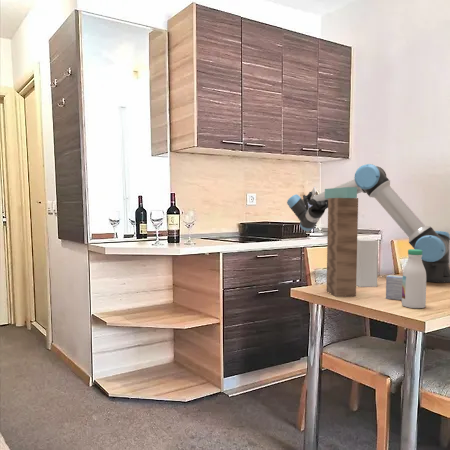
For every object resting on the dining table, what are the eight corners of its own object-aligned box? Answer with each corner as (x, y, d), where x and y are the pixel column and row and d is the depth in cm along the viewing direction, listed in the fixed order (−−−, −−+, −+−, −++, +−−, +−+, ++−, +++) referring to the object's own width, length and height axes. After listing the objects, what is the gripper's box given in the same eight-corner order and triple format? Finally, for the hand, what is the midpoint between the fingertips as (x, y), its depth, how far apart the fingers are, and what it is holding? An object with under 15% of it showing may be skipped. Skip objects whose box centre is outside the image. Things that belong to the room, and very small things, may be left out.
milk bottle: (429, 306, 152) (431, 250, 151) (418, 310, 147) (420, 251, 146) (408, 302, 158) (410, 248, 157) (397, 305, 153) (398, 249, 152)
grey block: (349, 282, 197) (350, 238, 196) (366, 282, 198) (367, 238, 197) (359, 286, 187) (360, 240, 186) (377, 286, 188) (378, 240, 187)
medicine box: (409, 299, 164) (410, 276, 163) (407, 301, 160) (408, 278, 159) (388, 296, 168) (388, 274, 167) (385, 298, 164) (386, 276, 164)
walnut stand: (326, 291, 177) (328, 198, 175) (345, 291, 178) (347, 198, 176) (336, 296, 167) (338, 197, 165) (355, 296, 168) (358, 198, 166)
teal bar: (324, 198, 184) (324, 188, 184) (333, 198, 184) (333, 189, 184) (346, 197, 162) (347, 187, 162) (356, 198, 163) (357, 187, 163)
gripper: (340, 218, 216) (357, 197, 197) (291, 218, 212) (304, 196, 194) (337, 205, 219) (354, 183, 200) (290, 204, 216) (302, 181, 197)
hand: (329, 189), depth 197 cm, fingers open, 13 cm apart
